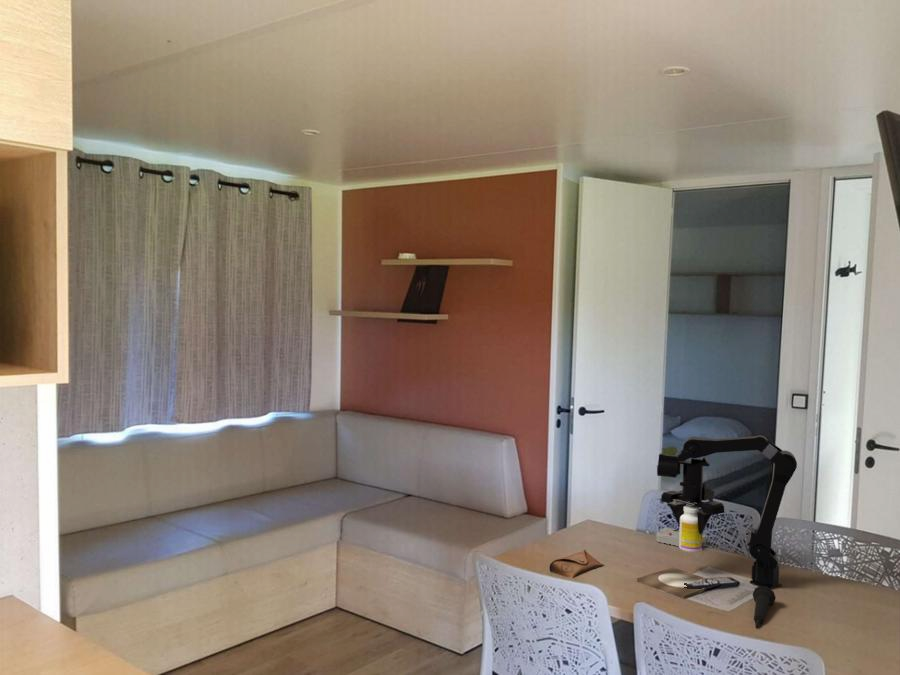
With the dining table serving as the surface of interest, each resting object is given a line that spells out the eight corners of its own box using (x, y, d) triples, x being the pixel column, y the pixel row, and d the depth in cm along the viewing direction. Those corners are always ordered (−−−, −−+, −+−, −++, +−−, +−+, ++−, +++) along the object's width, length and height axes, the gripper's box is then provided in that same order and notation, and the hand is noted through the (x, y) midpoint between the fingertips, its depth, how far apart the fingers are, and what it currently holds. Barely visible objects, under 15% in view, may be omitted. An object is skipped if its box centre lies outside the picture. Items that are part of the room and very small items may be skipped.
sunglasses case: (572, 578, 216) (563, 556, 218) (555, 585, 220) (546, 563, 222) (606, 565, 229) (597, 544, 231) (589, 571, 233) (580, 550, 235)
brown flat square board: (719, 585, 213) (719, 582, 213) (684, 598, 203) (684, 595, 203) (672, 569, 226) (672, 566, 226) (636, 581, 216) (637, 577, 215)
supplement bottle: (704, 553, 219) (706, 510, 219) (682, 552, 220) (683, 510, 219) (698, 546, 226) (699, 505, 226) (676, 545, 226) (677, 504, 226)
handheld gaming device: (664, 537, 261) (664, 526, 261) (706, 545, 252) (706, 534, 251) (654, 543, 254) (654, 532, 254) (697, 552, 245) (697, 541, 244)
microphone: (764, 642, 184) (771, 605, 201) (772, 623, 182) (779, 587, 200) (741, 631, 186) (751, 595, 204) (749, 612, 185) (758, 578, 202)
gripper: (736, 482, 219) (734, 534, 220) (683, 470, 234) (681, 519, 235) (713, 486, 213) (711, 540, 213) (660, 474, 228) (659, 524, 228)
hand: (690, 530), depth 223 cm, fingers closed on supplement bottle, 7 cm apart
